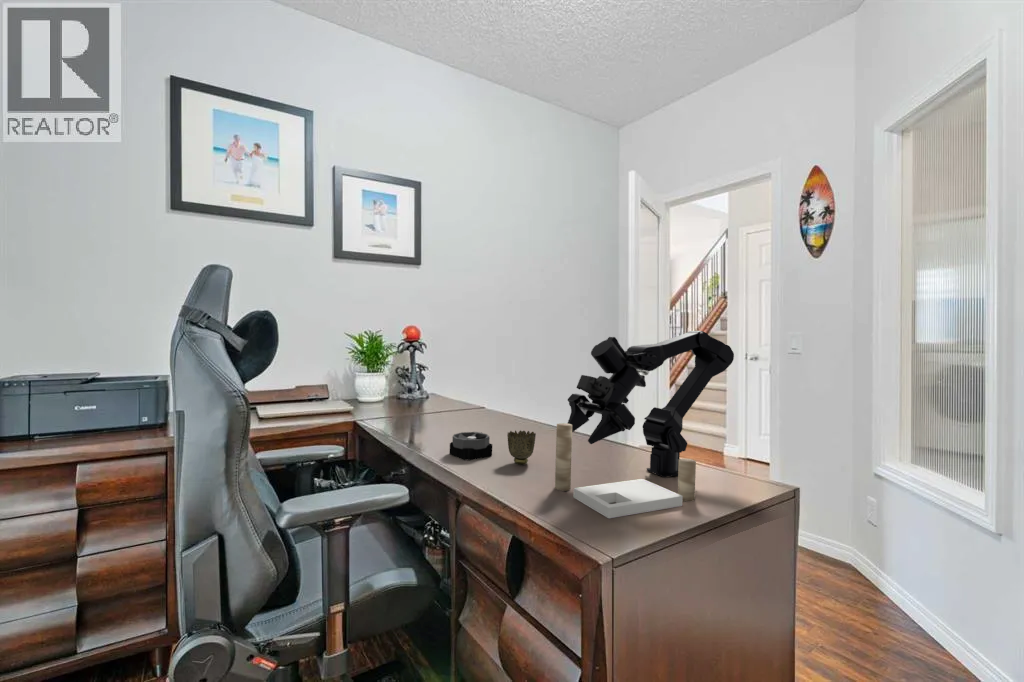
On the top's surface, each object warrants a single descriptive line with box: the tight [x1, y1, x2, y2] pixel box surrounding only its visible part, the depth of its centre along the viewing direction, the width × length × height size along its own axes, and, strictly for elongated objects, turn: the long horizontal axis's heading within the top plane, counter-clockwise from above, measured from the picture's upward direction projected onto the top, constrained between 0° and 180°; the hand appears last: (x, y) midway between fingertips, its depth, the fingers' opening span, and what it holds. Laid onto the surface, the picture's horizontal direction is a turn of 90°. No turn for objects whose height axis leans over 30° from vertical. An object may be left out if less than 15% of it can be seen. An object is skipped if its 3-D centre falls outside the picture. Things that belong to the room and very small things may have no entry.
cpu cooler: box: [449, 431, 493, 461], centre depth 132 cm, size 10×6×10 cm
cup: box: [507, 429, 537, 466], centre depth 125 cm, size 8×7×8 cm
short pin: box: [677, 458, 697, 502], centre depth 101 cm, size 3×3×8 cm
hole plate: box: [573, 478, 683, 519], centre depth 98 cm, size 18×12×2 cm, turn 115°
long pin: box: [554, 422, 573, 492], centre depth 106 cm, size 3×3×14 cm
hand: (577, 438), depth 107 cm, fingers open, 9 cm apart
